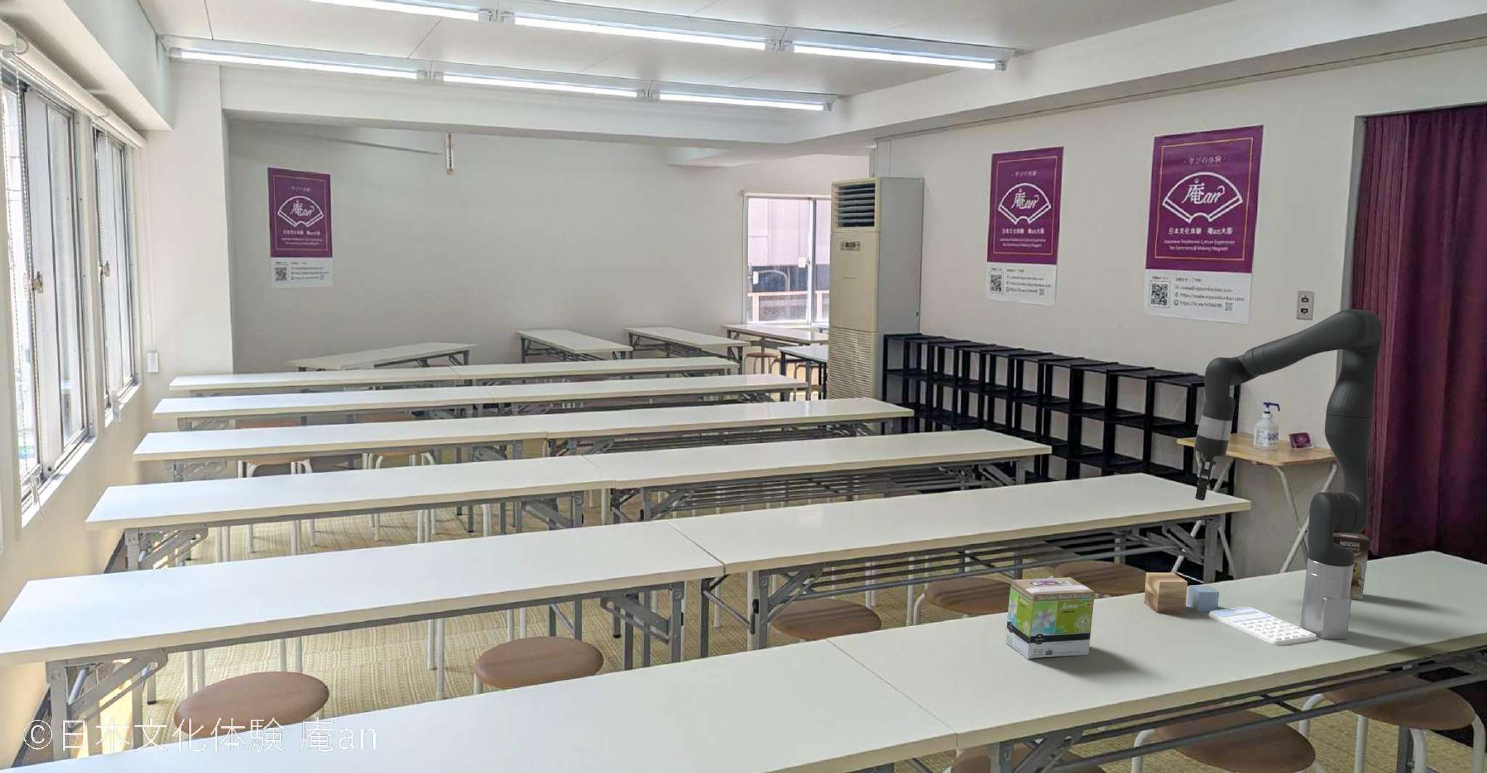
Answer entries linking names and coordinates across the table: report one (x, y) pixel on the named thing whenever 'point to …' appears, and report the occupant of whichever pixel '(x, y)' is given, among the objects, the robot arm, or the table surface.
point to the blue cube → (1203, 598)
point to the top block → (1166, 585)
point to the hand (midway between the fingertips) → (1200, 496)
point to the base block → (1164, 603)
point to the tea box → (1049, 617)
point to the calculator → (1262, 625)
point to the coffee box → (1355, 559)
